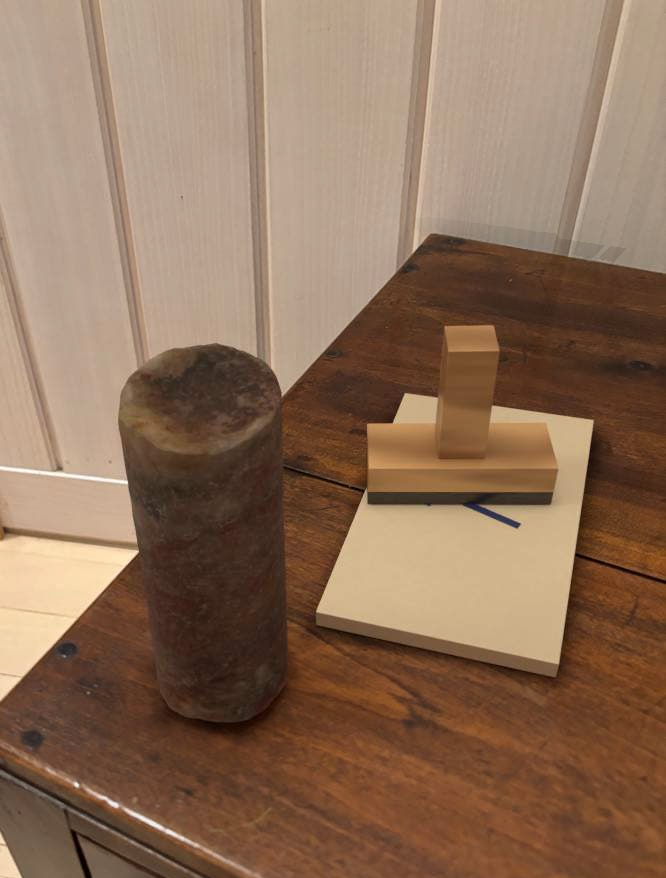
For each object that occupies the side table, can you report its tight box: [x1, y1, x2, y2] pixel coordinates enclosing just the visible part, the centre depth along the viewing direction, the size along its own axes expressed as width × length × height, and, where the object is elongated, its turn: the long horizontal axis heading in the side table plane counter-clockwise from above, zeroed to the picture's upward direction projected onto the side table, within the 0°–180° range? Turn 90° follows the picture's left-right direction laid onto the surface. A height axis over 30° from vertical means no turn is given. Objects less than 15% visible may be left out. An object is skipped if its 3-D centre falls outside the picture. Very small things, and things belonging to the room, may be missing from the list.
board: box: [315, 392, 595, 678], centre depth 61 cm, size 24×14×1 cm, turn 161°
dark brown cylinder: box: [117, 342, 289, 724], centre depth 46 cm, size 8×7×20 cm
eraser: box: [365, 324, 559, 504], centre depth 59 cm, size 5×12×11 cm, turn 86°
